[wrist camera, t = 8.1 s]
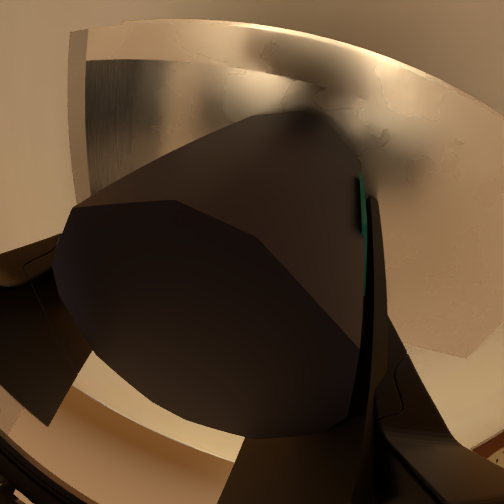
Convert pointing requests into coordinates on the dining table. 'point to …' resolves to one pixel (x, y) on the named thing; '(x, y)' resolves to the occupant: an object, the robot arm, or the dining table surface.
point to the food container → (492, 449)
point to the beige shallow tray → (344, 123)
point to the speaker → (244, 300)
